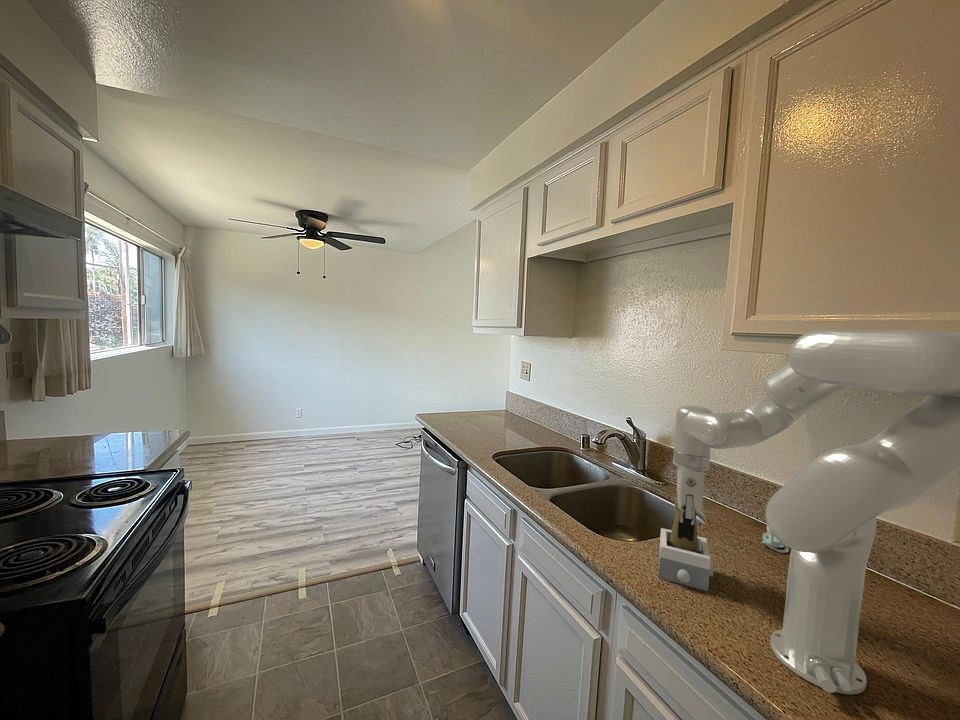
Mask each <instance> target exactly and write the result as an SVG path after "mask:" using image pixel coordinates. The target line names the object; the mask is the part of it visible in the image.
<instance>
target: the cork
mask: <svg viewBox="0 0 960 720" xmlns="http://www.w3.org/2000/svg"><path fill="white" fill-rule="evenodd" d="M683 506H684V505H683ZM674 508H675V509H676V511H675V517H674V520H673V525H672V529H671V530H672V532H671V536H670V542H671V543H672V544H673V545H675V546H677V547H679V548H682V549H685V550H696V549H697V548H698V538H697V536H698V527H697V526H698V523H697V522H698V521H697V515H698V513H696V510H695V514H694V536H693V541H688V539H687V538H684V537H682V539H679V538H678V523H679V521H680V515H681V510H680V509H679V508H678V501H677V497H676V498H675V500H674ZM683 509H686V507H683ZM692 511H693V508H692ZM685 513H686V512H684V513H683V515H684V514H685Z"/></svg>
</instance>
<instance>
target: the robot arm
mask: <svg viewBox="0 0 960 720" xmlns="http://www.w3.org/2000/svg"><path fill="white" fill-rule="evenodd" d="M787 359H788V362H787V363H786V364H784V365H783V366H781V367H780V368H778V369H776V370H775V371H773V372H772V373H770V374H769V375H767V376H765V379H764V380H763V388H764V391H765V393H766V394H764V396H762V398H760V399H759V400H758V401H756V402H755V403H753V404H752V405H750V406H748V407H747V408H744V409H743V410H741V411H727V412H716V413H715V412H714V413H713V412H712V410H711V409H708V408H706V407H702V406H696V405H681V406H679V407H678V409H677V411H676V414H675V415H676V417H675V428H674V441H673V454H672V463H673V464H674V465H675V466H677V471H676V472H677V473H676V475H677V476H676V498H677V501H678V508H679V509H680V510H681V515H680V521H679V523H678V538H679V539H682V537H684V538H687V539H688V541H693V536H694V514H695V510H696V513H697V514H698V515H702V514H703V507H704V506H703V505H704V504H703V503H704V488H705V487H704V485H705V483H704V482H705V471H708V470H710V463H711V462H710V460H711V449H716V450H726V449H727V450H728V449H735V448H741V447H743V448H744V447H751V446H754V445H757V444H760V443H762V442H764V441H766V440H768V439H770V438H772V437H774V436H776V435H777V434H780V433H781V432H783V431H785V430H786V429H788V428H789V427H790V426H792V425H793V424H794V423H796V422H797V421H798V420H800V418H801V417H802V416H803V415H804V414H806V413H807V412H808V411H810V410H812V409H814V408H815V407H818V406H820V405H821V404H823V403H825V402H827V401H829V400H830V399H832V398H834V397H836V396H838V395H840V394H841V393H843V392H845V391H848V389H850V388H857V389H858V388H860V389H867V390H868V389H869V390H876V391H883V392H893V393H901V394H906V395H907V394H908V395H917V396H919V395H920V396H922V395H923V396H925V397H924V398H922V399H923V400H921V401H920V402H919V403H917V404H916V405H914V406H912V407H911V408H909V409H908V410H906V411H905V412H904V413H902V414H901V415H899V416H898V417H897V418H896V419H894V420H893V422H892V423H890V424H889V425H888V426H887V427H885V428H884V429H883V430H881V431H880V432H878V433H877V434H876V435H874V436H873V437H872V438H870V439H868V440H867V441H865V442H864V441H863V443H857V444H851V445H847V446H846V445H845V446H840V447H836V448H833V449H830V450H827V451H826V452H823V453H821V454H820V455H819V456H817V457H815V458H814V459H812V460H811V461H810V462H809V463H808V464H807V465H806V466H805V467H803V468H802V469H801V470H800V471H799V472H797V474H795V475H794V476H793V477H792V478H791V479H790V480H788V481H787V482H786V483H785V484H784V485H782V486H781V487H780V488H779V489H778V490H777V491H776V492H775V493H773V495H772V496H771V497H770V498H769V500H768V501H767V504H766V507H765V512H764V513H765V521H766V526H767V525H768V527H769V529H770V531H771V532H772V534H773V535H774V536H775V537H776V538H777V539H778V540H779V541H780V542H781V543H783V544H784V545H786V546H787V547H788V548H789V549H791V550H790V555H789V563H788V573H787V580H786V591H785V592H786V593H785V601H784V602H785V604H784V612H783V613H784V614H783V620H782V621H783V622H782V623H783V624H782V629H777V630H774V631H773V632H772V633H771V635H770V647H771V650H772V652H773V653H774V655H775V656H776V657H777V659H779V661H780V662H781V663H782V664H783V665H784V666H786V667H787V669H789V670H791V671H792V672H793V673H794V674H796V675H797V676H799V677H801V678H802V679H803V680H805V681H806V682H809V683H811V684H813V685H815V686H816V687H819V688H821V689H822V690H823V691H825V692H826V693H836V694H837V693H838V694H841V695H853V696H854V695H859V694H861V693H863V692H864V691H865V690H866V688H867V676H866V674H865V671H864V670H863V669H862V667H861V666H860V665H859V664H858V662H856V654H857V645H858V639H859V638H858V636H859V629H860V628H859V627H860V619H861V610H862V600H863V594H864V593H863V592H864V586H865V580H866V579H865V578H866V571H867V566H868V560H869V557H870V554H871V550H872V548H873V543H874V541H875V537H876V533H877V518H876V517H879V516H880V515H882V514H885V513H887V512H889V511H894V510H897V509H900V508H903V507H906V506H909V505H911V504H914V503H915V502H916V501H918V500H919V499H920V498H923V496H924V495H926V494H927V493H928V492H929V491H931V490H932V489H933V488H934V487H937V486H938V485H939V484H941V483H942V482H943V481H945V480H947V479H948V478H950V477H951V476H953V475H954V474H956V473H957V472H959V471H960V332H952V331H951V332H950V331H940V330H925V329H924V330H922V329H920V330H919V329H917V330H915V329H910V330H909V329H907V330H906V329H905V330H904V329H902V330H901V329H898V330H897V329H842V328H841V329H839V328H818V329H814V330H810V331H808V332H806V333H804V334H802V335H801V336H799V337H798V338H797V339H796V340H795V341H794V342H793V343H792V344H791V346H790V347H789V351H788V356H787ZM683 505H684V506H683ZM683 507H686V509H683ZM692 508H693V511H692ZM684 512H686V513H685V514H684V515H683V513H684Z"/></svg>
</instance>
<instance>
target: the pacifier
mask: <svg viewBox="0 0 960 720" xmlns="http://www.w3.org/2000/svg"><path fill="white" fill-rule="evenodd" d="M761 543H762V544H765V545H766V546H767V547H768V548H769V549H771V550H774V551H775V552H777V553H780V554H787V553H789V552H790V548H789V547H787V546H786V545H784V544H783V543H781V542H780V541H779V540H778V539H777V538H776V537H775V536H774V535H773V534H772V532H771V531H770V529H769V527H768V525H767V524H766V532H763V534H762V541H761ZM779 548H784V549H779Z"/></svg>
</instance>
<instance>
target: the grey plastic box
mask: <svg viewBox="0 0 960 720" xmlns="http://www.w3.org/2000/svg"><path fill="white" fill-rule="evenodd" d="M671 532H672V529H668V528H667V529H666V528H662V527H660V536H659V537H660V538H659V550H658V551H659V552H658V579H661V580H664V581H669V582H672V583H676V584H680V585H683V586H687V587H689V588H693V589H698V590H701V591H705V592H709V587H710V586H709V584H710V577H714V563H713V564H712V563H711V561H712V558H711V554H710V550H709V546H708V545H709V544H708V540H707V537H701V536H698V535H697V538H698V548H697V549H696V550H685V549H682V548H679V547H677V546H675V545H673V544H672V543H671V542H670V536H671Z"/></svg>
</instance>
